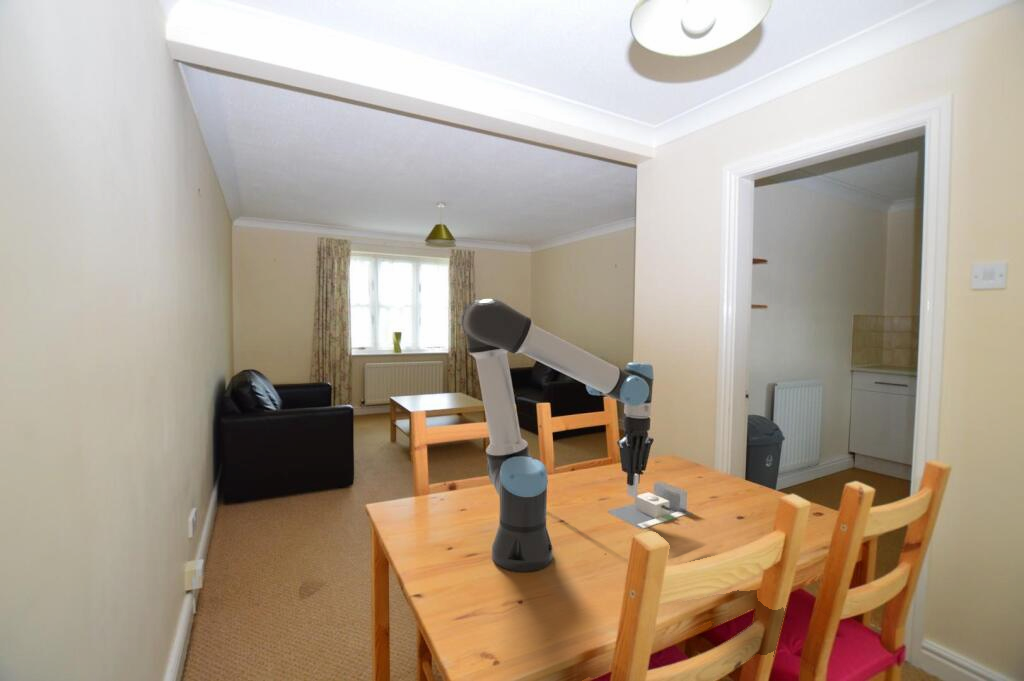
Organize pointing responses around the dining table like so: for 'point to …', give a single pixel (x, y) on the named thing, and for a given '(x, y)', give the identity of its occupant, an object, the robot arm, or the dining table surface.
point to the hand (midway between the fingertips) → (632, 495)
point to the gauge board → (643, 516)
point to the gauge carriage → (652, 505)
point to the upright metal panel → (672, 496)
